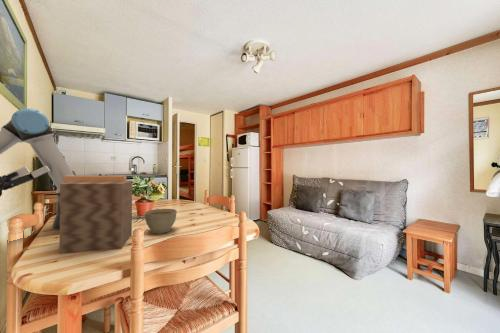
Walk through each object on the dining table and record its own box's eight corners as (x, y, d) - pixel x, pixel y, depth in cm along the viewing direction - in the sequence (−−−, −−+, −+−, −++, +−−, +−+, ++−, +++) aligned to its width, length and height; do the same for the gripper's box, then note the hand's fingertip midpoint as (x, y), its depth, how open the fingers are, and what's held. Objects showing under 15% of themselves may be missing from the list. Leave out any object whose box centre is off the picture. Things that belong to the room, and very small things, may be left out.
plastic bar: (63, 181, 95) (63, 176, 95) (67, 180, 99) (67, 175, 99) (124, 181, 102) (124, 176, 102) (126, 180, 106) (126, 175, 106)
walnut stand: (59, 253, 86) (60, 184, 85) (80, 238, 103) (81, 180, 103) (121, 248, 92) (122, 183, 92) (131, 235, 109) (132, 180, 109)
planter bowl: (182, 228, 122) (182, 209, 122) (164, 237, 107) (164, 216, 106) (157, 225, 126) (158, 207, 126) (137, 234, 111) (137, 213, 110)
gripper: (12, 197, 101) (59, 174, 106) (-42, 208, 77) (23, 178, 82) (1, 183, 100) (50, 161, 105) (-56, 190, 76) (10, 161, 81)
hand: (38, 168), depth 94 cm, fingers open, 13 cm apart
